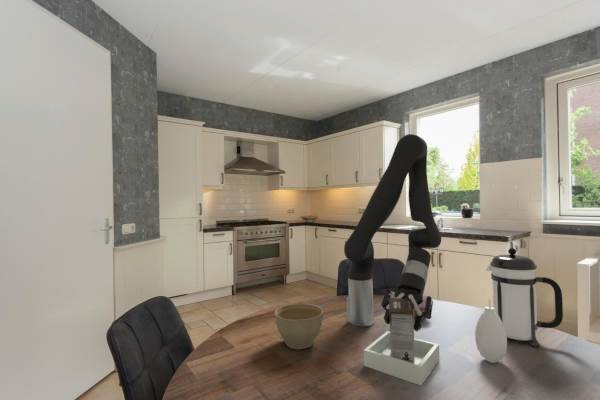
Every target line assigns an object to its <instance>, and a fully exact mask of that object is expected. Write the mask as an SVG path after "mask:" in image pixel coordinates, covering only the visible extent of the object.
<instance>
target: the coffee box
mask: <svg viewBox="0 0 600 400" xmlns="http://www.w3.org/2000/svg"><path fill="white" fill-rule="evenodd" d="M389 312H390V323H389V332H390V344H391V357H394V358H397V359H400V360H404V361H407V362H410V363H413V364H414V338H415V330H414V323H415V318H414V312H413V306H412V300H411V299H401V298H396V297H395V298H394V297H393V298H389Z"/></svg>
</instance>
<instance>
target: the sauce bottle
mask: <svg viewBox="0 0 600 400" xmlns="http://www.w3.org/2000/svg"><path fill="white" fill-rule="evenodd" d="M474 338H475V343H476V344H475V345H476V348H477V350H478V352H479V354H480V356H481V357H482V358H484V360H485V361H487V362H489V363H492V364H493V363H494V364H495V363H498V362H499V361H502V360H503V358H504V357H505V355H506V353H507V350H508V338H507V336H506V332H505V328H504V326H503V323H502V321H501V319H500V317H499V316H498V314H497V313H496V312H495V308H493V306H492V305H491V299H490V298H488V306H485V307H484V309H483V311H482V312H481V314H480V315H479V317H478V319H477V323H476V326H475V331H474Z"/></svg>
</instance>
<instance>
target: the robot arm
mask: <svg viewBox="0 0 600 400" xmlns="http://www.w3.org/2000/svg"><path fill="white" fill-rule="evenodd" d="M427 159H428V144H427V142H426V141H425V139H424V138H422V137H421V136H419V135H417V134H415V133H407V134H405V135H403V136H402V137H401V138H400V139H399V140H398V141H397V143H396V146H395V148H394V150H393V153H392V155H391V158H390V160H389V163H388V165H387V167H386V169H385V171H384V172H383V175H382V176H381V178H380V180H379V182H378V184H377V185H376V188H375V189H374V190H373V193H372V195H371V196H370V198H369V200H368V203H367V204H366V206H365V209H364V211H363V213H362V215H361V216H360V220H359V221H358V223H357V225H356V227H355V229H354V230H353V231H352V233H351V234H350V235H349V237H348V239H346V242H345V244H344V248H343V250H344V251H343V252H344V256H345V258H346V259H347V260H348V261H349V262H351V265H350V267H349V269H348V271H347V276H348V277H347V278H348V279H347V283H348V296H346V321H347V323H350V325H353V326H356V327H370V326H372V325H374V323H375V322H374V290H373V274H374V273H373V272H374V269H375V267H374V266H375V250H374V244H373V241H372V240H373V238H374V236H375V235H376V233H377V232H378V230H379V229H380V228H381V227H382V226H383V225H384V224H385V223H386V221H387V220H388V219H389V217H390V216H391V215H392V213H393V211H394V210H395V208H396V206H397V204H398V202H399V201H400V199H401V194H402V192H403V187H404V184H405V182H406V181H405V180H406V178H407V176H408V204H409V213H410V218H411V220H412V221H413V222H419V223H421V224H423V225H424V226H425V227H415V228H412V229H411V230H410V231H409V233H408V235H407V237H408V240H407V241H408V255H407V258H406V261H405V263H404V267H403V269H402V273H401V276H400V278H399V282H398V286H397V290H396V291H395V292H394V291H392V290H390V289H389V288H388V289H386V291H385V294H384V296H383V299H382V301H381V304H380V305H381V306H382V308H383V310H384V311H385V313H384V316H383V321H384V322H385V324H386V325H390V312H389V298H394V297H395V298H401V299H411V300H412V306H413V309H415V310H416V312H417V314H418V315H417V316H416V318H414V332H419V331H420V330H421V329H422V325H423V321H424V320H426V319H427V320H430V319H431V318H432V310H433V305H434V301H433V299H432V297H431V296H429V295H427V297H423V293H424V294H425V287H426V284H427V280H428V273H429V272H428V271H429V267H430V264H431V258H432V257H431V254H430V252H429V251H428V250H427V249H436V248H438V247H440V245H441V243H442V234H441V232H440V229H439V228H438V225H437V223H436V220H435V218H434V215H433V210H432V209H433V208H432V203H431V196H430V195H431V194H430V188H429V183H428V182H429V181H428V172H427V170H428V168H427V167H428V165H427V162H428V161H427ZM423 301H424V303H425V312H422V313H421V311H420V309H419V307H418V305H420V304H421V303H422V302H423Z"/></svg>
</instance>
